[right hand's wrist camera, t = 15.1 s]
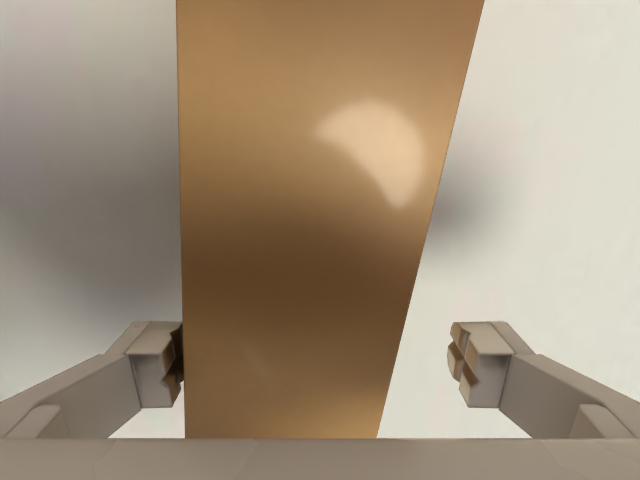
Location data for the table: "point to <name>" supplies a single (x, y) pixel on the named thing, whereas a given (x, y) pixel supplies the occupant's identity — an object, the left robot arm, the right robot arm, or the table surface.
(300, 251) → the bar
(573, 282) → the table surface
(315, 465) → the right robot arm
